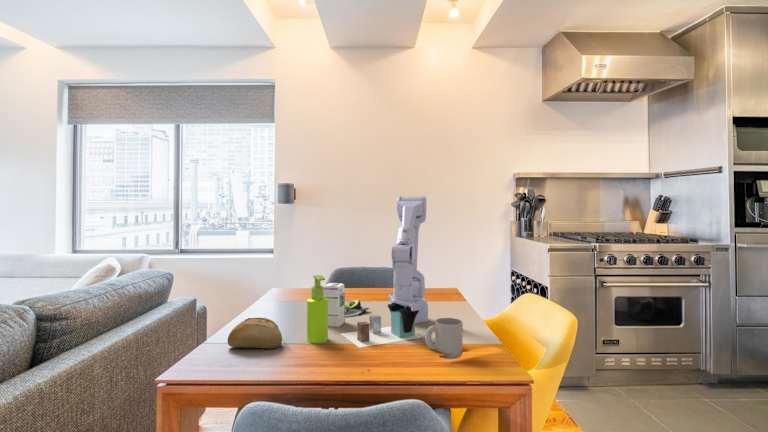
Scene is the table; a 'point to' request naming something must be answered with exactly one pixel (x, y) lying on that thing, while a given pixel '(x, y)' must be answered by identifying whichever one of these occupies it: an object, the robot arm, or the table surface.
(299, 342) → the table surface
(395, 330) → the teal rectangular block
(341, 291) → the syrup box
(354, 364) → the table surface
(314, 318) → the soap dispenser
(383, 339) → the post board
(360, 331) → the walnut post
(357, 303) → the salad plate
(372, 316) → the steel post
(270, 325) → the bread roll
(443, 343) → the cup
